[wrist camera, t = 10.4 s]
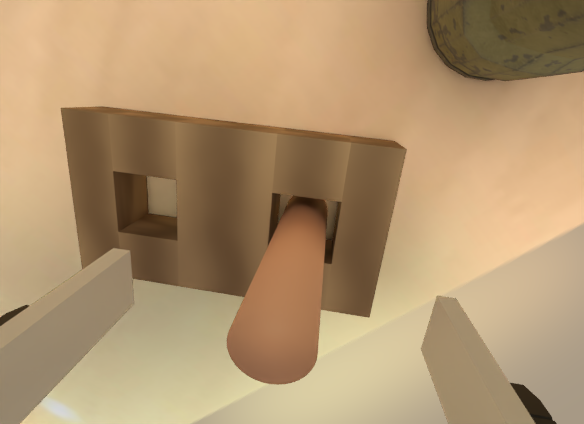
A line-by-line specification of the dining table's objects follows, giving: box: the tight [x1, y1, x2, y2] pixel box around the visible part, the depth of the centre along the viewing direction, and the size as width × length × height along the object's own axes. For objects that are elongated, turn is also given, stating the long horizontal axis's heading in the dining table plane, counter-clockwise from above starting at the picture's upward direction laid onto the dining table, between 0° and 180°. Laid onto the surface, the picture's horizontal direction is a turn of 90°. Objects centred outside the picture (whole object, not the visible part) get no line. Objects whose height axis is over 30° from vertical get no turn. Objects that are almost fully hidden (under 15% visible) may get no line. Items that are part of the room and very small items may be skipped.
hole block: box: [61, 107, 407, 317], centre depth 24 cm, size 22×12×4 cm, turn 84°
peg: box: [227, 196, 328, 384], centre depth 18 cm, size 3×3×15 cm
